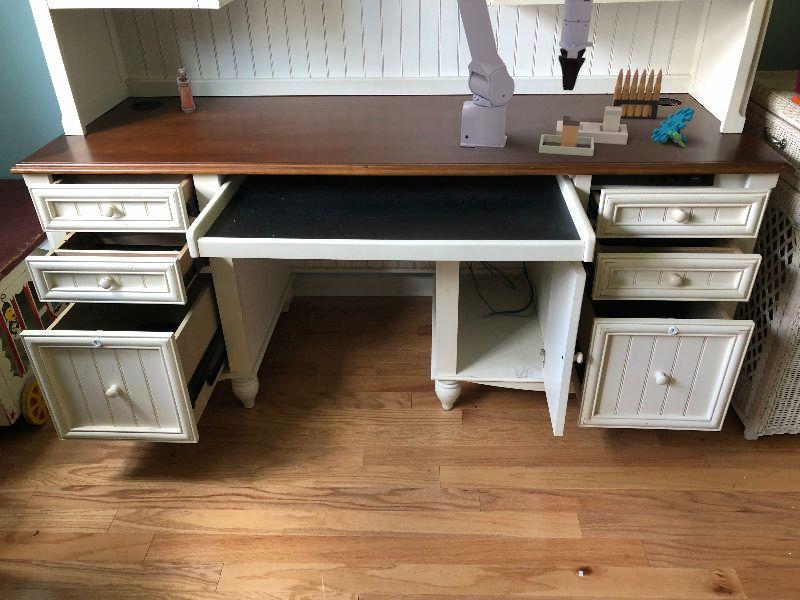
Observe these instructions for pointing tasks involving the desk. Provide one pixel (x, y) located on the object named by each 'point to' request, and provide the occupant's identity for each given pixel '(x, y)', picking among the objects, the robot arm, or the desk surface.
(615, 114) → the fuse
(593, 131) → the block
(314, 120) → the desk surface
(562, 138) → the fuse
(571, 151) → the parts tray
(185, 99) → the pink perfume bottle
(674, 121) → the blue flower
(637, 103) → the ammunition clip
